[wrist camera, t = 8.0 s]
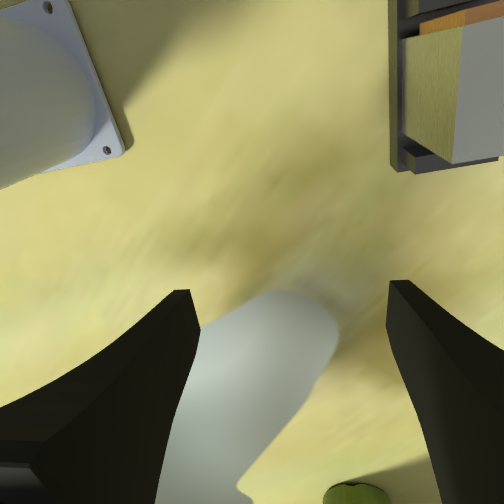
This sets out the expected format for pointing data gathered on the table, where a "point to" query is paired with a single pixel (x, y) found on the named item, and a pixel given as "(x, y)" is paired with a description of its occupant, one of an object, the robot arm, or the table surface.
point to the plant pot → (355, 495)
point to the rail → (401, 27)
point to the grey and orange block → (456, 84)
